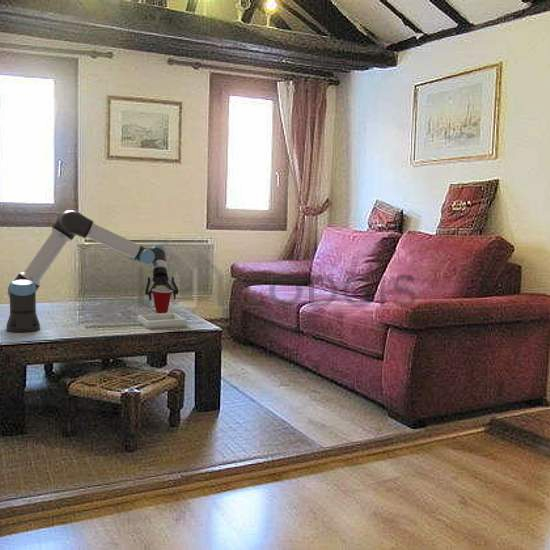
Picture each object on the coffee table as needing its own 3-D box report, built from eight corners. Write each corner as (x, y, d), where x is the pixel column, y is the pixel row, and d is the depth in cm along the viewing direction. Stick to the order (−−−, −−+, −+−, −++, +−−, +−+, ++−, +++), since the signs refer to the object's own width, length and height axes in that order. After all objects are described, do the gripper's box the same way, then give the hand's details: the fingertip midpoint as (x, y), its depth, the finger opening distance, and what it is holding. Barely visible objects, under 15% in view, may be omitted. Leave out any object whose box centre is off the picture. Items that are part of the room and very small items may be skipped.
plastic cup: (170, 314, 327) (170, 291, 325) (149, 313, 327) (149, 290, 325) (174, 310, 337) (174, 287, 336) (154, 310, 338) (153, 287, 336)
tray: (147, 329, 319) (147, 322, 319) (137, 321, 337) (137, 315, 337) (186, 326, 328) (186, 319, 328) (174, 319, 346) (174, 313, 346)
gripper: (180, 274, 348) (184, 308, 335) (137, 275, 342) (140, 309, 328) (181, 265, 342) (185, 300, 329) (138, 266, 336) (141, 300, 323)
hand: (163, 304), depth 329 cm, fingers closed on plastic cup, 10 cm apart
